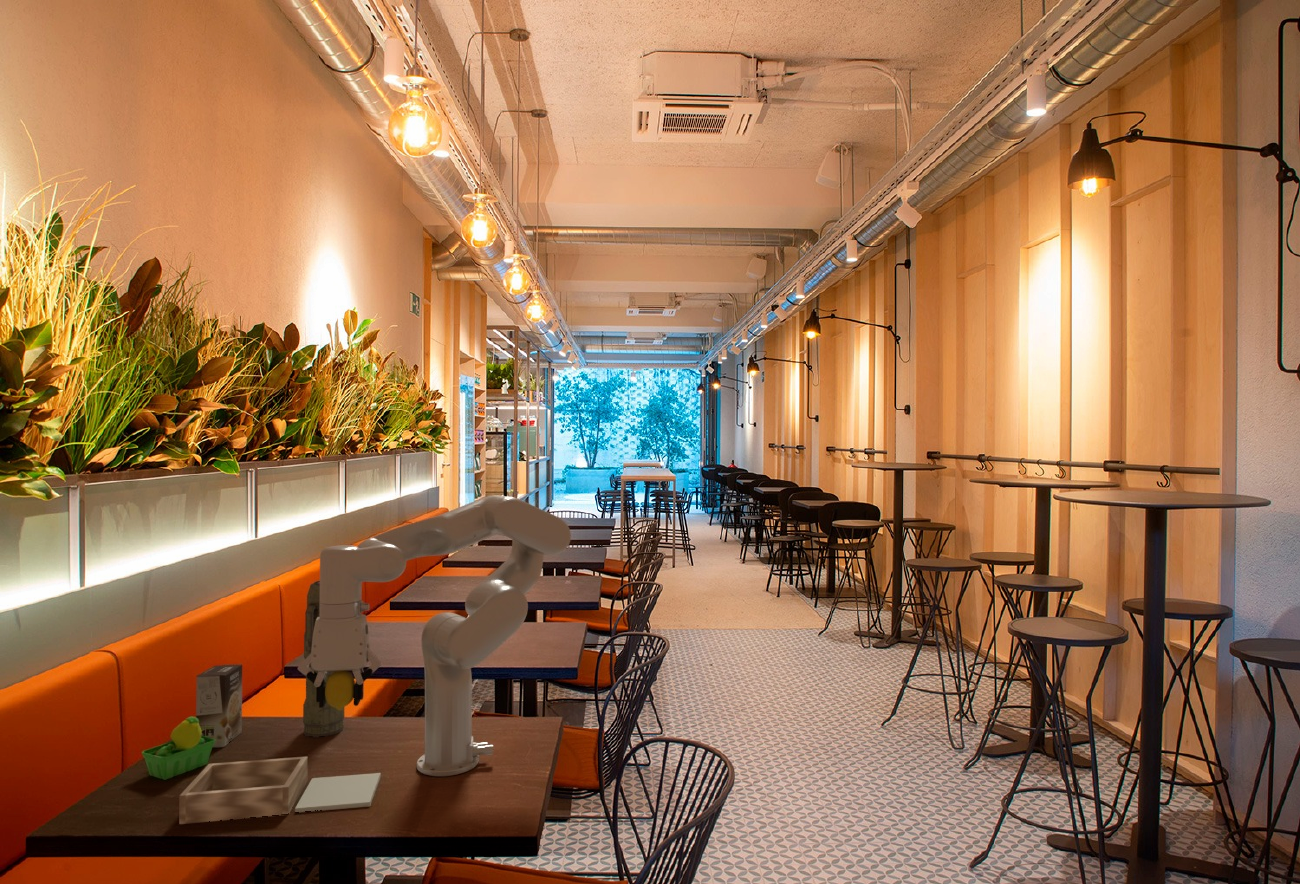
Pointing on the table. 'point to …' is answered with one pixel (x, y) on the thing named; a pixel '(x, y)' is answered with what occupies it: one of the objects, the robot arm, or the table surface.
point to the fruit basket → (179, 751)
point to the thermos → (313, 716)
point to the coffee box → (220, 703)
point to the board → (339, 792)
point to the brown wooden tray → (243, 790)
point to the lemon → (339, 689)
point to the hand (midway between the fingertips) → (340, 703)
